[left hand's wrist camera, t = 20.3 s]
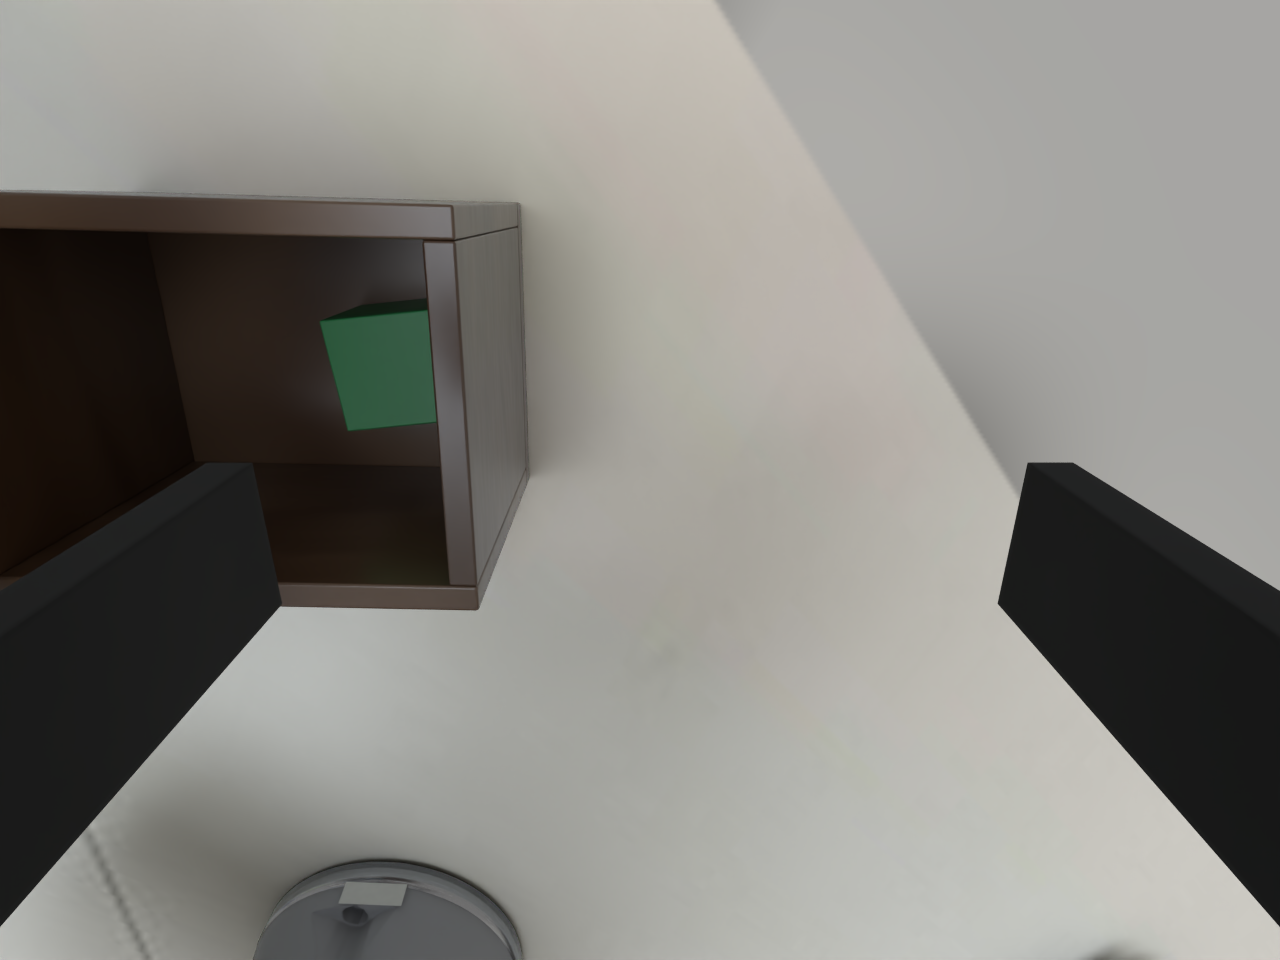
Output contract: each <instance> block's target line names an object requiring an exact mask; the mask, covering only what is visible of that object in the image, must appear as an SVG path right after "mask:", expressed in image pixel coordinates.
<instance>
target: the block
mask: <svg viewBox="0 0 1280 960" xmlns="http://www.w3.org/2000/svg"><path fill="white" fill-rule="evenodd" d="M320 326H321V330H322V334H323V338H324V342H325V346H326V349H327V353H328V357H329V361H330V365H331V369H332V372H333V376H334V380H335V384H336V388H337V392H338V396H339V399H340V403H341V407H342V411H343V415H344V419H345V423H346V426H347V430H348V431H359V430H369V429H379V428H389V427H399V426H409V425H419V424H429V423H436V411H435V398H434V386H433V373H432V361H431V348H430V335H429V323H428V310H427V298H423V299H413V300H404V301H394V302H385V303H375V304H366V305H360V306H357V307H355V308H352V309H349V310H347V311H344V312H341V313H339V314H336V315H334V316H331V317H328V318H326V319H323V320H321V321H320Z"/></svg>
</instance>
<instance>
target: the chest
mask: <svg viewBox="0 0 1280 960" xmlns="http://www.w3.org/2000/svg"><path fill="white" fill-rule="evenodd" d="M423 298H427V310H428V323H429V335H430V348H431V361H432V373H433V386H434V398H435V411H436V423H429V424H419V425H409V426H399V427H389V428H379V429H369V430H359V431H348V430H347V426H346V423H345V419H344V415H343V411H342V407H341V403H340V399H339V396H338V392H337V388H336V384H335V380H334V376H333V372H332V369H331V365H330V361H329V357H328V353H327V349H326V346H325V342H324V338H323V334H322V330H321V326H320V321H321V320H323V319H326V318H328V317H331V316H334V315H336V314H339V313H341V312H344V311H347V310H349V309H352V308H355V307H357V306H360V305H366V304H375V303H385V302H394V301H404V300H413V299H423ZM206 463H252V464H253V468H254V473H255V478H256V483H257V487H258V492H259V497H260V501H261V506H262V511H263V515H264V520H265V525H266V530H267V534H268V539H269V544H270V548H271V553H272V558H273V562H274V567H275V572H276V577H277V581H278V586H279V591H280V595H281V600H282V605H281V606H282V607H332V608H383V609H434V610H478V609H479V607H480V604H481V602H482V599H483V597H484V594H485V591H486V589H487V586H488V584H489V581H490V579H491V576H492V573H493V571H494V568H495V566H496V563H497V560H498V558H499V555H500V553H501V550H502V547H503V545H504V542H505V540H506V537H507V534H508V532H509V529H510V527H511V524H512V521H513V519H514V516H515V514H516V511H517V508H518V506H519V503H520V501H521V498H522V495H523V493H524V490H525V488H526V485H527V483H528V480H529V459H528V428H527V396H526V365H525V334H524V303H523V271H522V240H521V209H520V203H507V202H471V201H436V200H400V199H364V198H328V197H292V196H256V195H220V194H184V193H148V192H99V191H39V190H0V591H1V590H3V589H4V588H6V587H8V586H9V585H11V584H12V583H14V582H16V581H17V580H19V579H20V578H22V577H24V576H25V575H27V574H29V573H30V572H32V571H33V570H35V569H37V568H38V567H40V566H41V565H43V564H45V563H46V562H48V561H49V560H51V559H53V558H54V557H56V556H57V555H59V554H61V553H62V552H64V551H66V550H67V549H69V548H70V547H72V546H74V545H75V544H77V543H78V542H80V541H82V540H83V539H85V538H86V537H88V536H90V535H91V534H93V533H95V532H96V531H98V530H99V529H101V528H103V527H104V526H106V525H107V524H109V523H111V522H112V521H114V520H115V519H117V518H119V517H120V516H122V515H124V514H125V513H127V512H128V511H130V510H132V509H133V508H135V507H136V506H138V505H140V504H141V503H143V502H144V501H146V500H148V499H149V498H151V497H153V496H154V495H156V494H157V493H159V492H161V491H162V490H164V489H165V488H167V487H169V486H170V485H172V484H173V483H175V482H177V481H178V480H180V479H182V478H183V477H185V476H186V475H188V474H190V473H191V472H193V471H194V470H196V469H198V468H199V467H201V466H202V465H204V464H206Z"/></svg>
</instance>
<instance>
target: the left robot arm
mask: <svg viewBox="0 0 1280 960" xmlns="http://www.w3.org/2000/svg"><path fill="white" fill-rule="evenodd" d="M281 605H282V600H281V595H280V591H279V586H278V581H277V577H276V572H275V567H274V562H273V558H272V553H271V548H270V544H269V539H268V534H267V530H266V525H265V520H264V515H263V511H262V506H261V501H260V497H259V492H258V487H257V483H256V478H255V473H254V468H253V464H252V463H206V464H204V465H202V466H201V467H199V468H198V469H196V470H194V471H193V472H191V473H190V474H188V475H186V476H185V477H183V478H182V479H180V480H178V481H177V482H175V483H173V484H172V485H170V486H169V487H167V488H165V489H164V490H162V491H161V492H159V493H157V494H156V495H154V496H153V497H151V498H149V499H148V500H146V501H144V502H143V503H141V504H140V505H138V506H136V507H135V508H133V509H132V510H130V511H128V512H127V513H125V514H124V515H122V516H120V517H119V518H117V519H115V520H114V521H112V522H111V523H109V524H107V525H106V526H104V527H103V528H101V529H99V530H98V531H96V532H95V533H93V534H91V535H90V536H88V537H86V538H85V539H83V540H82V541H80V542H78V543H77V544H75V545H74V546H72V547H70V548H69V549H67V550H66V551H64V552H62V553H61V554H59V555H57V556H56V557H54V558H53V559H51V560H49V561H48V562H46V563H45V564H43V565H41V566H40V567H38V568H37V569H35V570H33V571H32V572H30V573H29V574H27V575H25V576H24V577H22V578H20V579H19V580H17V581H16V582H14V583H12V584H11V585H9V586H8V587H6V588H4V589H3V590H1V591H0V926H1V925H2V924H3V923H4V922H5V921H6V920H7V918H8V917H9V916H10V915H11V914H12V913H13V912H14V910H15V909H16V908H17V907H18V906H19V905H20V903H21V902H22V901H23V900H24V899H25V898H26V897H27V895H28V894H29V893H30V892H31V891H32V890H33V889H34V887H35V886H36V885H37V884H38V883H39V882H40V881H41V879H42V878H43V877H44V876H45V875H46V874H47V873H48V871H49V870H50V869H51V868H52V867H53V866H54V865H55V863H56V862H57V861H58V860H59V859H60V858H61V857H62V855H63V854H64V853H65V852H66V851H67V850H68V849H69V847H70V846H71V845H72V844H73V843H74V842H75V840H76V839H77V838H78V837H79V836H80V835H81V834H82V832H83V831H84V830H85V829H86V828H87V827H88V826H89V824H90V823H91V822H92V821H93V820H94V819H95V818H96V816H97V815H98V814H99V813H100V812H101V811H102V810H103V808H104V807H105V806H106V805H107V804H108V803H109V802H110V800H111V799H112V798H113V797H114V796H115V795H116V794H117V792H118V791H119V790H120V789H121V788H122V787H123V786H124V784H125V783H126V782H127V781H128V780H129V779H130V777H131V776H132V775H133V774H134V773H135V772H136V771H137V769H138V768H139V767H140V766H141V765H142V764H143V763H144V761H145V760H146V759H147V758H148V757H149V756H150V755H151V753H152V752H153V751H154V750H155V749H156V748H157V747H158V745H159V744H160V743H161V742H162V741H163V740H164V739H165V737H166V736H167V735H168V734H169V733H170V732H171V731H172V729H173V728H174V727H175V726H176V725H177V724H178V722H179V721H180V720H181V719H182V718H183V717H184V716H185V714H186V713H187V712H188V711H189V710H190V709H191V708H192V706H193V705H194V704H195V703H196V702H197V701H198V700H199V698H200V697H201V696H202V695H203V694H204V693H205V692H206V690H207V689H208V688H209V687H210V686H211V685H212V684H213V682H214V681H215V680H216V679H217V678H218V677H219V676H220V674H221V673H222V672H223V671H224V670H225V669H226V668H227V666H228V665H229V664H230V663H231V662H232V661H233V659H234V658H235V657H236V656H237V655H238V654H239V653H240V651H241V650H242V649H243V648H244V647H245V646H246V645H247V643H248V642H249V641H250V640H251V639H252V638H253V637H254V635H255V634H256V633H257V632H258V631H259V630H260V629H261V627H262V626H263V625H264V624H265V623H266V622H267V621H268V619H269V618H270V617H271V616H272V615H273V614H274V613H275V611H276V610H277V609H278V608H279V607H280V606H281ZM998 605H999V606H1000V607H1001V608H1002V609H1003V610H1004V611H1005V613H1006V614H1007V615H1008V616H1009V617H1010V618H1011V619H1012V621H1013V622H1014V623H1015V624H1016V625H1017V626H1018V627H1019V629H1020V630H1021V631H1022V632H1023V633H1024V634H1025V635H1026V637H1027V638H1028V639H1029V640H1030V641H1031V642H1032V643H1033V645H1034V646H1035V647H1036V648H1037V649H1038V650H1039V651H1040V653H1041V654H1042V655H1043V656H1044V657H1045V658H1046V659H1047V661H1048V662H1049V663H1050V664H1051V665H1052V666H1053V668H1054V669H1055V670H1056V671H1057V672H1058V673H1059V674H1060V676H1061V677H1062V678H1063V679H1064V680H1065V681H1066V682H1067V684H1068V685H1069V686H1070V687H1071V688H1072V689H1073V690H1074V692H1075V693H1076V694H1077V695H1078V696H1079V697H1080V698H1081V700H1082V701H1083V702H1084V703H1085V704H1086V705H1087V706H1088V708H1089V709H1090V710H1091V711H1092V712H1093V713H1094V714H1095V716H1096V717H1097V718H1098V719H1099V720H1100V721H1101V722H1102V724H1103V725H1104V726H1105V727H1106V728H1107V729H1108V731H1109V732H1110V733H1111V734H1112V735H1113V736H1114V737H1115V739H1116V740H1117V741H1118V742H1119V743H1120V744H1121V745H1122V747H1123V748H1124V749H1125V750H1126V751H1127V752H1128V753H1129V755H1130V756H1131V757H1132V758H1133V759H1134V760H1135V761H1136V763H1137V764H1138V765H1139V766H1140V767H1141V768H1142V769H1143V771H1144V772H1145V773H1146V774H1147V775H1148V776H1149V777H1150V779H1151V780H1152V781H1153V782H1154V783H1155V784H1156V786H1157V787H1158V788H1159V789H1160V790H1161V791H1162V792H1163V794H1164V795H1165V796H1166V797H1167V798H1168V799H1169V800H1170V802H1171V803H1172V804H1173V805H1174V806H1175V807H1176V808H1177V810H1178V811H1179V812H1180V813H1181V814H1182V815H1183V816H1184V818H1185V819H1186V820H1187V821H1188V822H1189V823H1190V824H1191V826H1192V827H1193V828H1194V829H1195V830H1196V831H1197V832H1198V834H1199V835H1200V836H1201V837H1202V838H1203V839H1204V840H1205V842H1206V843H1207V844H1208V845H1209V846H1210V847H1211V849H1212V850H1213V851H1214V852H1215V853H1216V854H1217V855H1218V857H1219V858H1220V859H1221V860H1222V861H1223V862H1224V863H1225V865H1226V866H1227V867H1228V868H1229V869H1230V870H1231V871H1232V873H1233V874H1234V875H1235V876H1236V877H1237V878H1238V879H1239V881H1240V882H1241V883H1242V884H1243V885H1244V886H1245V887H1246V889H1247V890H1248V891H1249V892H1250V893H1251V894H1252V895H1253V897H1254V898H1255V899H1256V900H1257V901H1258V902H1259V903H1260V905H1261V906H1262V907H1263V908H1264V909H1265V910H1266V912H1267V913H1268V914H1269V915H1270V916H1271V917H1272V918H1273V920H1274V921H1275V922H1276V923H1277V924H1278V925H1279V926H1280V591H1279V590H1277V589H1276V588H1274V587H1272V586H1271V585H1269V584H1268V583H1266V582H1264V581H1263V580H1261V579H1260V578H1258V577H1256V576H1255V575H1253V574H1251V573H1250V572H1248V571H1247V570H1245V569H1243V568H1242V567H1240V566H1239V565H1237V564H1235V563H1234V562H1232V561H1231V560H1229V559H1227V558H1226V557H1224V556H1223V555H1221V554H1219V553H1218V552H1216V551H1214V550H1213V549H1211V548H1210V547H1208V546H1206V545H1205V544H1203V543H1201V542H1200V541H1198V540H1197V539H1195V538H1193V537H1192V536H1190V535H1189V534H1187V533H1185V532H1184V531H1182V530H1181V529H1179V528H1177V527H1176V526H1174V525H1173V524H1171V523H1169V522H1168V521H1166V520H1164V519H1163V518H1161V517H1160V516H1158V515H1156V514H1155V513H1153V512H1152V511H1150V510H1148V509H1147V508H1145V507H1144V506H1142V505H1140V504H1139V503H1137V502H1136V501H1134V500H1132V499H1131V498H1129V497H1127V496H1126V495H1124V494H1123V493H1121V492H1119V491H1118V490H1116V489H1115V488H1113V487H1111V486H1110V485H1108V484H1106V483H1105V482H1103V481H1102V480H1100V479H1098V478H1097V477H1095V476H1094V475H1092V474H1090V473H1089V472H1087V471H1086V470H1084V469H1082V468H1081V467H1079V466H1078V465H1076V464H1074V463H1028V464H1027V469H1026V473H1025V478H1024V483H1023V487H1022V492H1021V497H1020V501H1019V506H1018V511H1017V515H1016V520H1015V525H1014V530H1013V534H1012V539H1011V544H1010V548H1009V553H1008V558H1007V562H1006V567H1005V572H1004V577H1003V581H1002V586H1001V591H1000V595H999V600H998ZM253 960H522V953H521V946H520V943H519V939H518V936H517V934H516V932H515V930H514V928H513V926H512V924H511V923H510V921H509V920H508V918H507V917H506V916H505V914H504V913H503V912H502V911H501V910H500V909H499V907H498V906H497V905H496V904H495V903H493V902H492V901H491V900H490V899H489V898H488V897H486V896H485V895H484V894H482V893H481V892H480V891H478V890H477V889H475V888H474V887H472V886H470V885H469V884H467V883H465V882H463V881H461V880H459V879H457V878H455V877H452V876H450V875H448V874H445V873H442V872H439V871H436V870H433V869H430V868H426V867H422V866H417V865H412V864H406V863H397V862H362V863H353V864H348V865H342V866H338V867H335V868H331V869H328V870H325V871H322V872H320V873H317V874H315V875H313V876H311V877H309V878H307V879H305V880H304V881H302V882H300V883H299V884H298V885H296V886H295V887H294V888H292V889H291V890H290V891H289V892H288V893H287V894H286V895H285V896H284V897H283V898H282V899H281V900H280V902H279V903H278V904H277V906H276V908H275V909H274V911H273V913H272V915H271V917H270V919H269V921H268V923H267V924H266V926H265V928H264V930H263V932H262V934H261V937H260V939H259V941H258V944H257V948H256V951H255V954H254V957H253Z"/></svg>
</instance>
